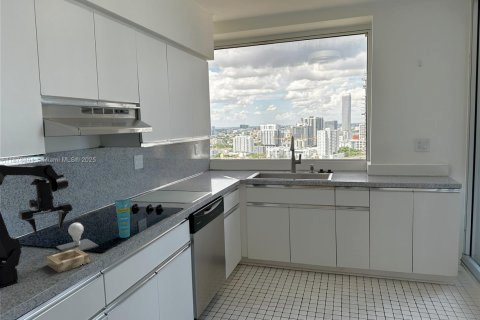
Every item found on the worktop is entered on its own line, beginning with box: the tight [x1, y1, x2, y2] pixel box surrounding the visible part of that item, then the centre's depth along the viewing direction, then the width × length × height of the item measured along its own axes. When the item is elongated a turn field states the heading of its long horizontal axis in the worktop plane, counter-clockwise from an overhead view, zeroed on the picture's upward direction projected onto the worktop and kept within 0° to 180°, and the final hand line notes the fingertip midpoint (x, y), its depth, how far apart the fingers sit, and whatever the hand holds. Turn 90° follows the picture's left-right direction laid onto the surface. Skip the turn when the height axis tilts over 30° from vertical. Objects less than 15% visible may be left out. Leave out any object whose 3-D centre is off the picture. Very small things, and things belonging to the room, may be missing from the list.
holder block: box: [46, 248, 90, 274], centre depth 141 cm, size 12×12×4 cm
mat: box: [55, 238, 99, 252], centre depth 161 cm, size 14×14×1 cm
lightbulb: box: [67, 222, 84, 246], centre depth 160 cm, size 6×6×11 cm
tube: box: [114, 198, 131, 239], centre depth 174 cm, size 7×5×19 cm, turn 119°
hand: (48, 231), depth 144 cm, fingers open, 9 cm apart
